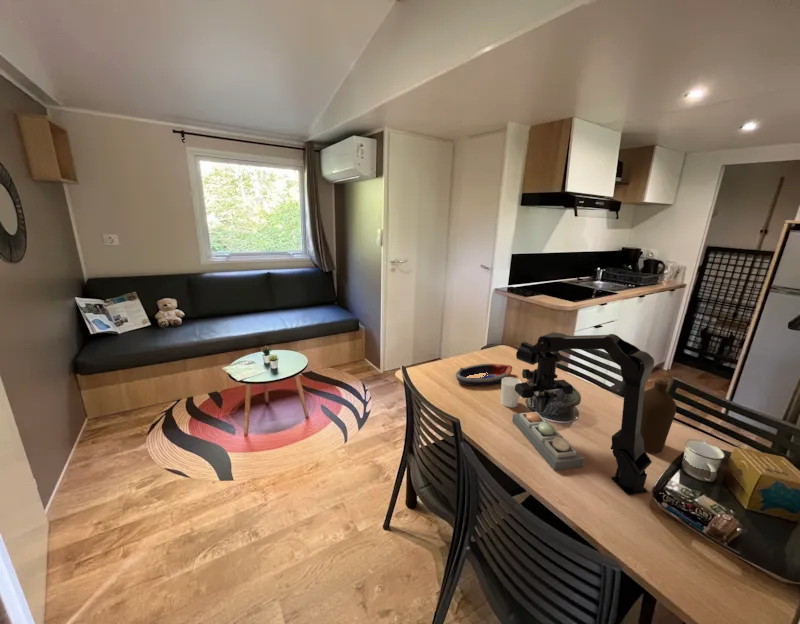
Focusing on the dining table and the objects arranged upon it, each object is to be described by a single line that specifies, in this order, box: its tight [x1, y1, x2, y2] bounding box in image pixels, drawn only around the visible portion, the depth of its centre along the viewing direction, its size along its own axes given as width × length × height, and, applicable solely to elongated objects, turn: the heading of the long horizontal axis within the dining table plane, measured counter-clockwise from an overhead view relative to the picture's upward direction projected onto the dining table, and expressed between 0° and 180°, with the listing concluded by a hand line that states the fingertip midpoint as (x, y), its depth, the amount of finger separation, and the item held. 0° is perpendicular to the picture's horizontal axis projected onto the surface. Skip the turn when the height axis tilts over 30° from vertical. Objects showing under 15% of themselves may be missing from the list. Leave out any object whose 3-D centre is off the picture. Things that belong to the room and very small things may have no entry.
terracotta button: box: [526, 411, 540, 423], centre depth 124 cm, size 5×5×2 cm
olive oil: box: [640, 376, 677, 454], centre depth 113 cm, size 11×11×25 cm
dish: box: [455, 363, 513, 387], centre depth 161 cm, size 16×31×5 cm, turn 109°
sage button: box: [538, 422, 555, 435], centre depth 116 cm, size 5×5×2 cm
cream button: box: [552, 437, 571, 451], centre depth 108 cm, size 5×5×2 cm
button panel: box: [511, 411, 585, 471], centre depth 117 cm, size 26×10×4 cm, turn 10°
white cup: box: [500, 376, 523, 409], centre depth 139 cm, size 8×8×10 cm
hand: (541, 410), depth 119 cm, fingers closed
